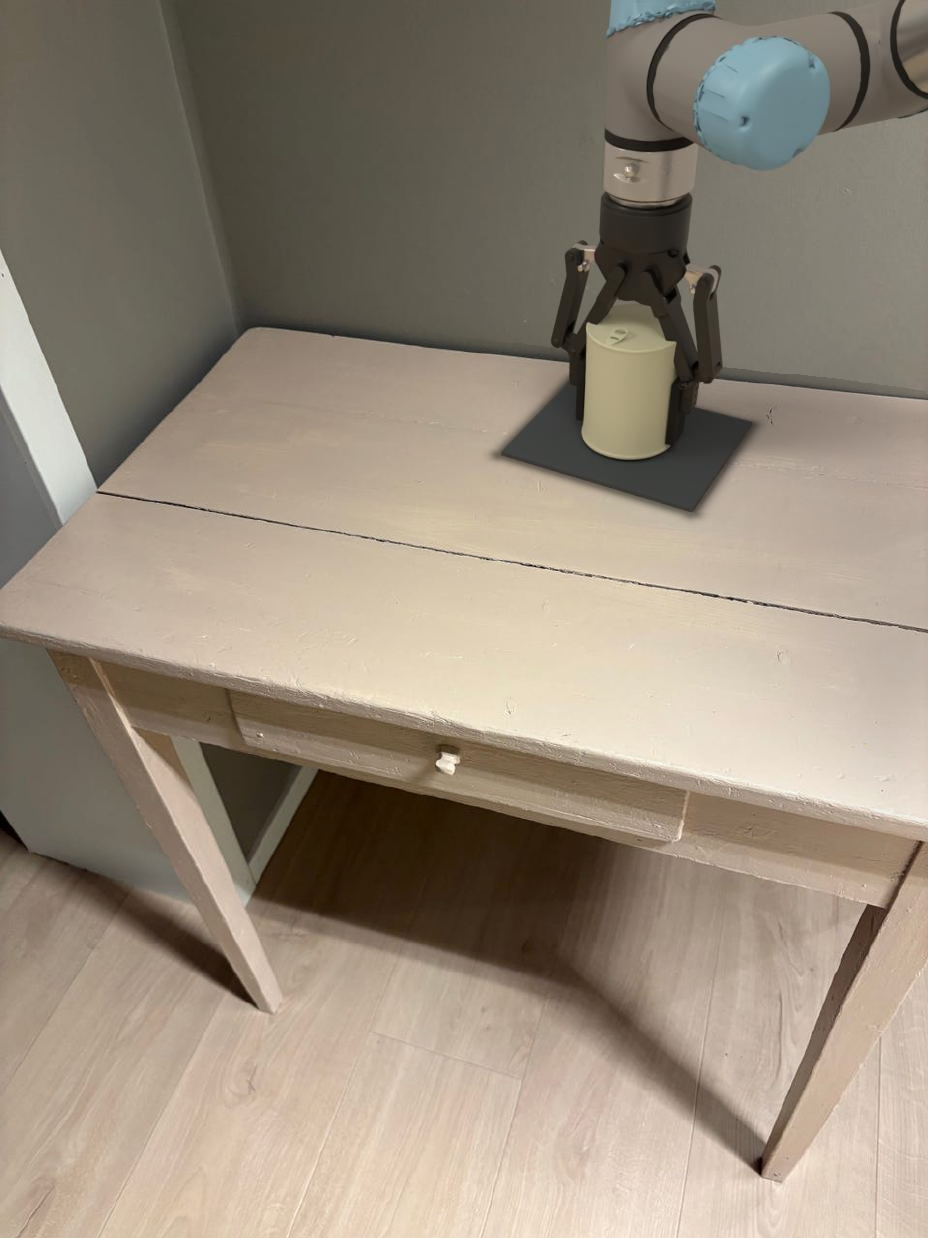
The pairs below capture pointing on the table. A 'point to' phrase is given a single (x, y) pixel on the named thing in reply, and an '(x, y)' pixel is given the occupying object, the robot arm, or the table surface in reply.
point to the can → (628, 384)
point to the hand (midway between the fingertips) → (628, 425)
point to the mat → (658, 478)
